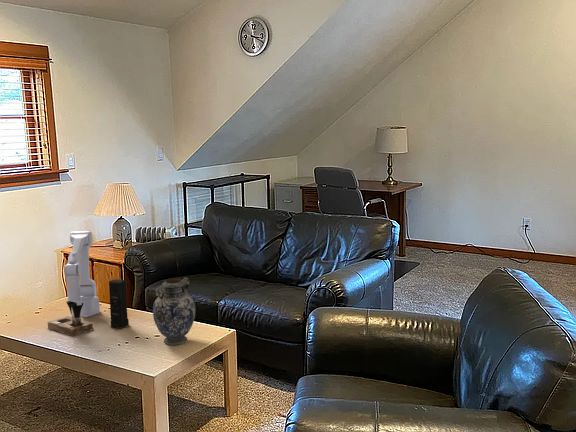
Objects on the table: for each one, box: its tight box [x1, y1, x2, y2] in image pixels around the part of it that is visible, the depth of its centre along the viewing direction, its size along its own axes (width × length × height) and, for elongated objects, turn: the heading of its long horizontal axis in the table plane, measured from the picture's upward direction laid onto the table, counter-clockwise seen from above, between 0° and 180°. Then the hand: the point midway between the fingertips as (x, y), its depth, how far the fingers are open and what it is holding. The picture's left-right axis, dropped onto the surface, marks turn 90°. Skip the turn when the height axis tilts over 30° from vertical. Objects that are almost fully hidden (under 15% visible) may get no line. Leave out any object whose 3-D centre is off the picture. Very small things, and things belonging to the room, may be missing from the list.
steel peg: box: [71, 307, 82, 324], centre depth 269 cm, size 4×4×8 cm
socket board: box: [47, 315, 94, 337], centre depth 272 cm, size 11×20×3 cm, turn 55°
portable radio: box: [108, 276, 129, 330], centre depth 273 cm, size 8×6×25 cm
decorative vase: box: [152, 276, 196, 346], centre depth 252 cm, size 21×19×28 cm
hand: (75, 316), depth 269 cm, fingers closed on steel peg, 4 cm apart
